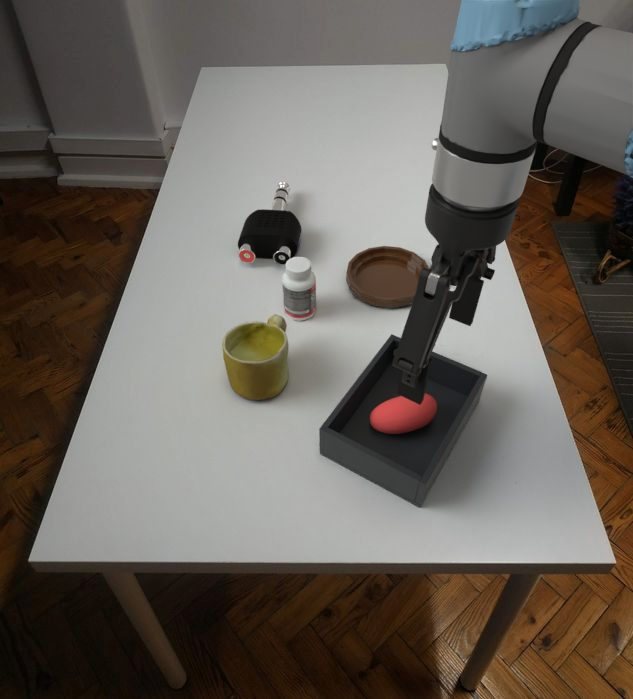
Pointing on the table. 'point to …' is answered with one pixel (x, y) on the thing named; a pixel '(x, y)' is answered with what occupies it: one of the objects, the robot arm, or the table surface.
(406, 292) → the plate
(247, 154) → the table surface
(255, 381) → the mug
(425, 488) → the bin
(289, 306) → the pill bottle
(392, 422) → the stress ball
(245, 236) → the audio adapter
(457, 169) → the robot arm
